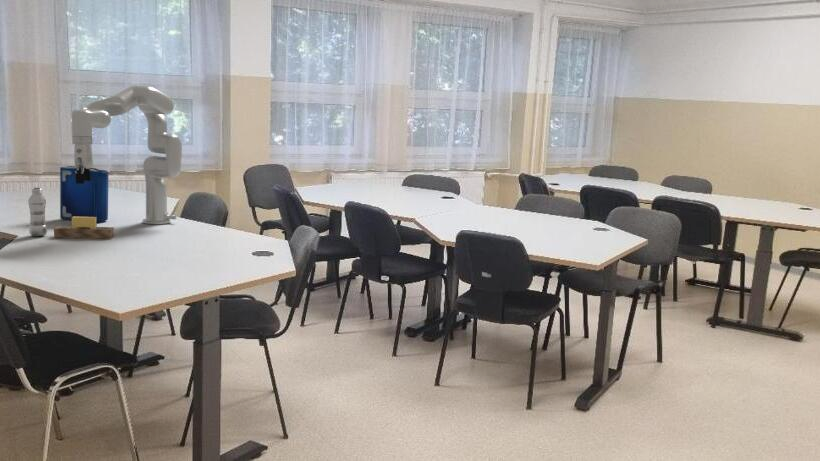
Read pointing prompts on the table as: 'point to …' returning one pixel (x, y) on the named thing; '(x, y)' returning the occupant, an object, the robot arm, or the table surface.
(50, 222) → the table surface
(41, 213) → the plastic bottle
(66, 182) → the book
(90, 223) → the yellow notched flat block
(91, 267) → the table surface
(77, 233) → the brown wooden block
